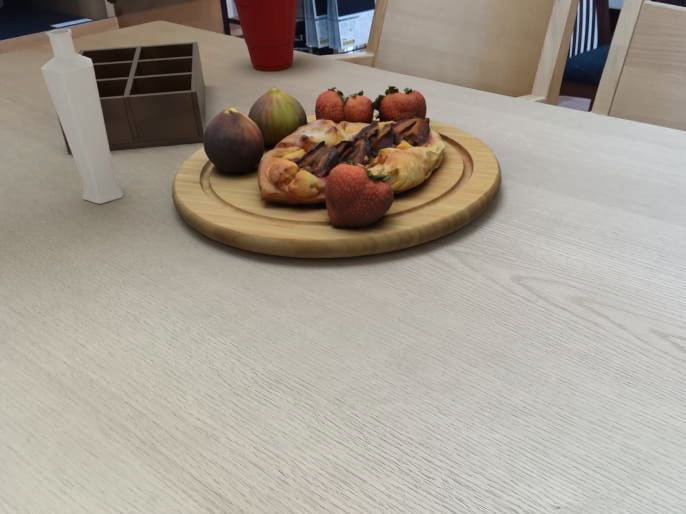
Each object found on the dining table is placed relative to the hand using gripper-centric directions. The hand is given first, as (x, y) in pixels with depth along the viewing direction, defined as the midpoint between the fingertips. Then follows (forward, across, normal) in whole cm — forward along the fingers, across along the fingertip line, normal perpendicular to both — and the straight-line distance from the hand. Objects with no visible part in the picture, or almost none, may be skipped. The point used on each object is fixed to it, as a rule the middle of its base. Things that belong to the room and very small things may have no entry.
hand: (55, 5), depth 63 cm
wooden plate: (+18, +22, -4) cm, 29 cm away
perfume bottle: (+17, -1, 0) cm, 17 cm away
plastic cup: (+17, +19, +42) cm, 50 cm away
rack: (+17, +2, +24) cm, 29 cm away
